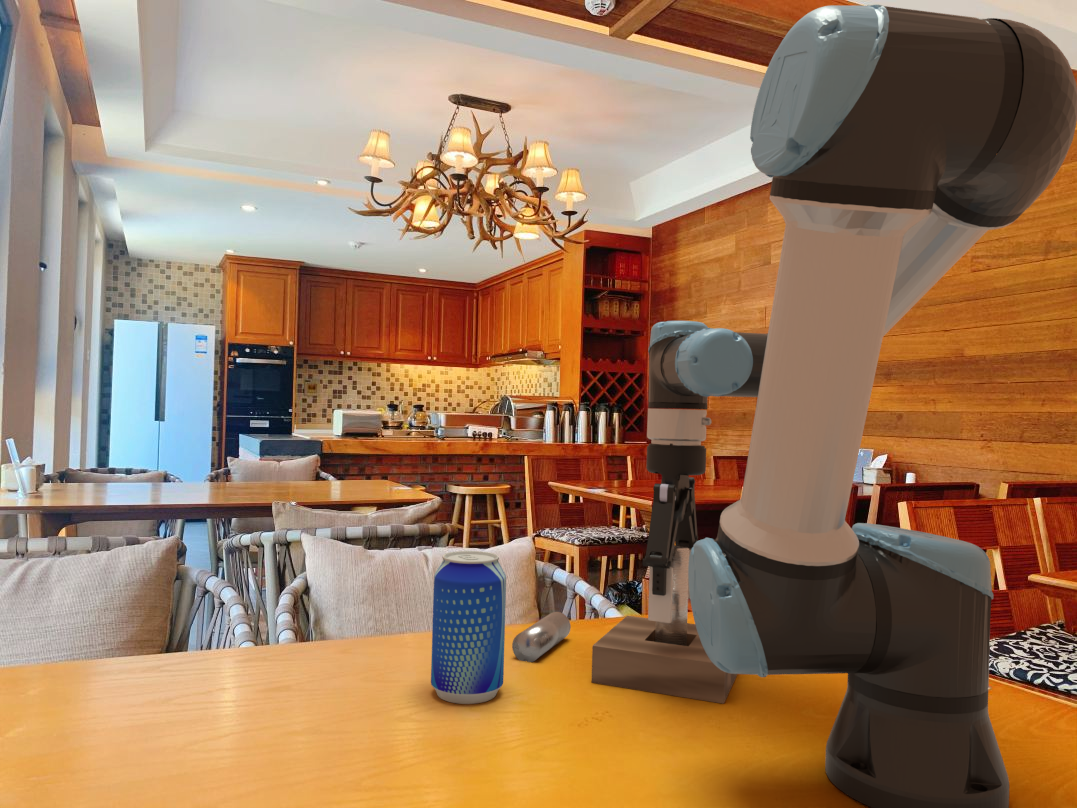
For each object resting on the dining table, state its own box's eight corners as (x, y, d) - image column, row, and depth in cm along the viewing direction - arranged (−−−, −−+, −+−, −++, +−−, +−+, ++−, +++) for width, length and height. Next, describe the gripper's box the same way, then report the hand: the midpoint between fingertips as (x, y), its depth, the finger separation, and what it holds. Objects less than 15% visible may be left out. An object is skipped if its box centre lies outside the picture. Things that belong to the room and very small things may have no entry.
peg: (682, 679, 100) (685, 551, 100) (651, 674, 102) (654, 548, 102) (688, 670, 104) (691, 546, 104) (658, 666, 105) (661, 544, 105)
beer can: (507, 683, 97) (511, 551, 97) (497, 709, 89) (501, 564, 89) (439, 678, 98) (443, 548, 98) (422, 704, 90) (426, 560, 90)
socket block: (723, 703, 92) (724, 664, 92) (591, 682, 98) (592, 645, 98) (742, 663, 107) (743, 630, 107) (626, 647, 113) (627, 615, 113)
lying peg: (518, 626, 106) (508, 653, 107) (544, 641, 105) (533, 668, 105) (550, 606, 117) (541, 631, 118) (574, 619, 116) (564, 644, 116)
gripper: (686, 447, 90) (681, 637, 90) (721, 441, 113) (717, 591, 113) (621, 444, 93) (616, 628, 92) (668, 439, 116) (664, 586, 116)
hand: (671, 608), depth 103 cm, fingers open, 13 cm apart
